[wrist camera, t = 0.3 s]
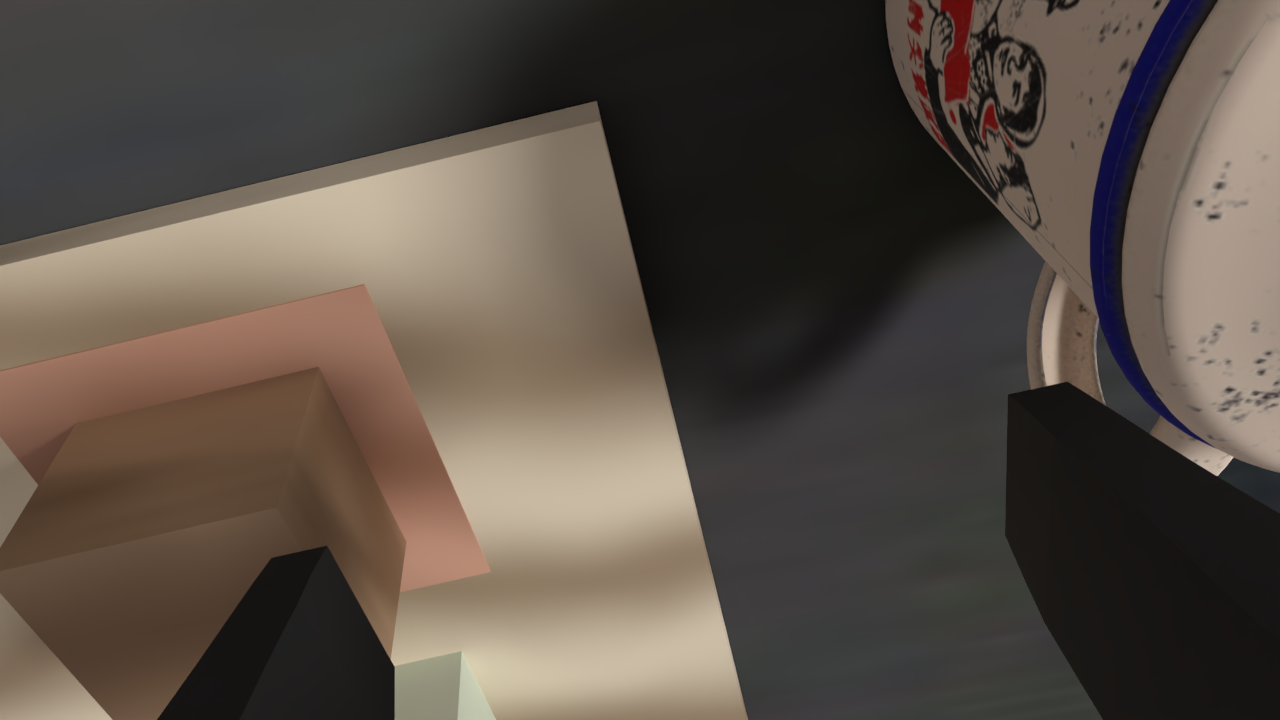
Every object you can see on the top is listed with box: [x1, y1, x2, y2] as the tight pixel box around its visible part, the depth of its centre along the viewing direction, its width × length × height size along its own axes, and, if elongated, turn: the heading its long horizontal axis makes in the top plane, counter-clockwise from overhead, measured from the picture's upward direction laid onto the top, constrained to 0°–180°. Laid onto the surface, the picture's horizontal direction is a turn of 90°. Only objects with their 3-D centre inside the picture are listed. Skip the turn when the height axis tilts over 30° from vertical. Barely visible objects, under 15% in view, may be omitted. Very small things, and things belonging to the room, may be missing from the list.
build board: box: [0, 101, 748, 720], centre depth 23 cm, size 20×18×1 cm
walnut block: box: [0, 367, 406, 720], centre depth 19 cm, size 5×5×4 cm
